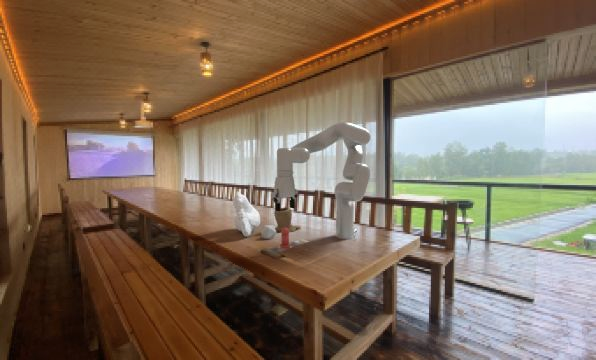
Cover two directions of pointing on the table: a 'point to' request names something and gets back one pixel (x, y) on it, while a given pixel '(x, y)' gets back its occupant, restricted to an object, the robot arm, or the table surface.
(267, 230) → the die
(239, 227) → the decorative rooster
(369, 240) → the table surface
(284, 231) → the pawn
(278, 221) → the stone cup
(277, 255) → the board
